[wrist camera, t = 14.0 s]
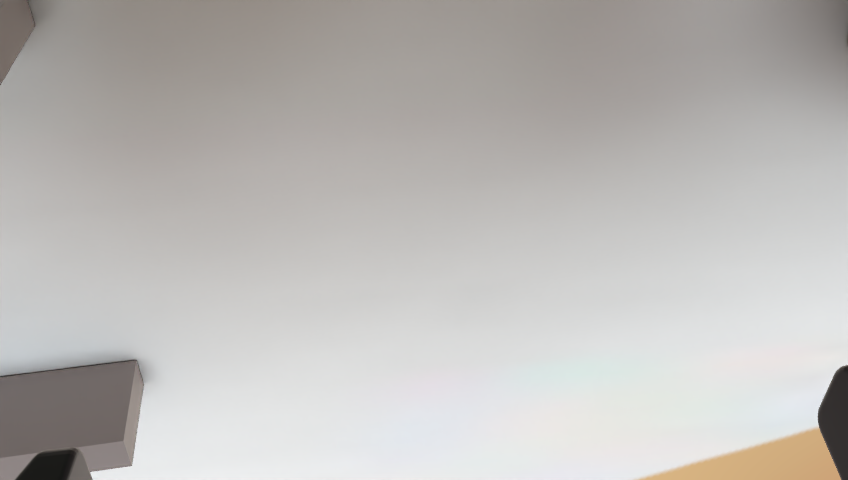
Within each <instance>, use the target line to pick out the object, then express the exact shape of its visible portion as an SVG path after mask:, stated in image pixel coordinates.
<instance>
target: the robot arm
mask: <svg viewBox="0 0 848 480" xmlns="http://www.w3.org/2000/svg"><path fill="white" fill-rule="evenodd" d="M818 423H819V428H820V431H821V433H822V436H823V438H824V440H825V443H826V445H827V447H828V450H829V452H830V454H831V456H832V459H833V461H834V463H835V466H836V468H837V470H838V473H839V475H840V477H841V480H848V365H846V366H842V367H841V368H839V369H838V370H837V371H836V373H835V374H834V376H833V379H832V381H831V383H830V385H829V388H828V390H827V392H826V394H825V396H824V399H823V401H822V403H821V405H820V407H819V410H818ZM15 480H92V477H91V474H90V471H89V468H88V466H87V463H86V460H85V457H84V455H83V453H82V451H81V450H80V449H79V448H77V447H68V448H59V449H49V450H44V451H41V452H39V453H38V454H36V455H35V456H34V457H33V458H32V459H31V461H30V462H29V463H28V464H27V465H26V467H25V468H24V469H23V470H22V471H21V473H20V474H19V475H18V476H17V477H16V479H15Z"/></svg>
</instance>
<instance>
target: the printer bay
mask: <svg viewBox="0 0 848 480" xmlns="http://www.w3.org/2000/svg"><path fill="white" fill-rule="evenodd" d="M34 27H35V24H34V20H33V17H32V14H31V10H30V7H29V4H28V1H27V0H0V85H1V83H2V81H3V80H4V78H5V76H6V75H7V73H8V71H9V70H10V68H11V66H12V64H13V63H14V61H15V59H16V58H17V56H18V54H19V53H20V51H21V49H22V47H23V46H24V44H25V42H26V41H27V39H28V37H29V36H30V34H31V32H32V30H33V29H34ZM143 386H144V384H143V380H142V377H141V374H140V370H139V367H138V364H137V361H136V360H135V361H126V362H118V363H110V364H102V365H94V366H86V367H78V368H70V369H62V370H54V371H46V372H38V373H30V374H22V375H14V376H6V377H0V480H15V479H16V477H17V476H18V475H19V474H20V473H21V471H22V470H23V469H24V468H25V467H26V465H27V464H28V463H29V462H30V461H31V459H32V458H33V457H34V456H35V455H36V454H38V453H39V452H41V451H44V450H49V449H59V448H68V447H77V448H79V449H80V450H81V451H82V453H83V455H84V457H85V460H86V463H87V466H88V468H89V471H90V472H92V471H99V470H106V469H113V468H120V467H127V466H132V462H133V455H134V448H135V441H136V434H137V428H138V421H139V414H140V407H141V400H142V393H143Z"/></svg>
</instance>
